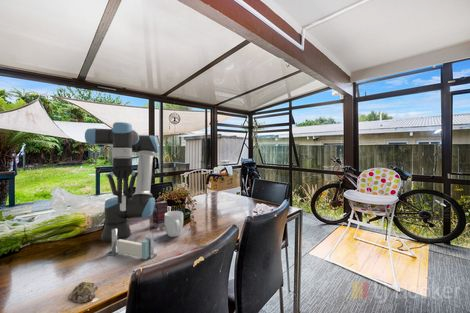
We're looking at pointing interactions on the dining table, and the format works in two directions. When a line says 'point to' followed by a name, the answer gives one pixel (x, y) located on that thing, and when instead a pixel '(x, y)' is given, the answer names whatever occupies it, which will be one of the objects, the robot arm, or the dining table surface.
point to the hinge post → (113, 243)
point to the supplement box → (159, 213)
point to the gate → (133, 248)
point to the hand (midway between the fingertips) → (122, 210)
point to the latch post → (151, 246)
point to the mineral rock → (83, 292)
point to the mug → (173, 223)
